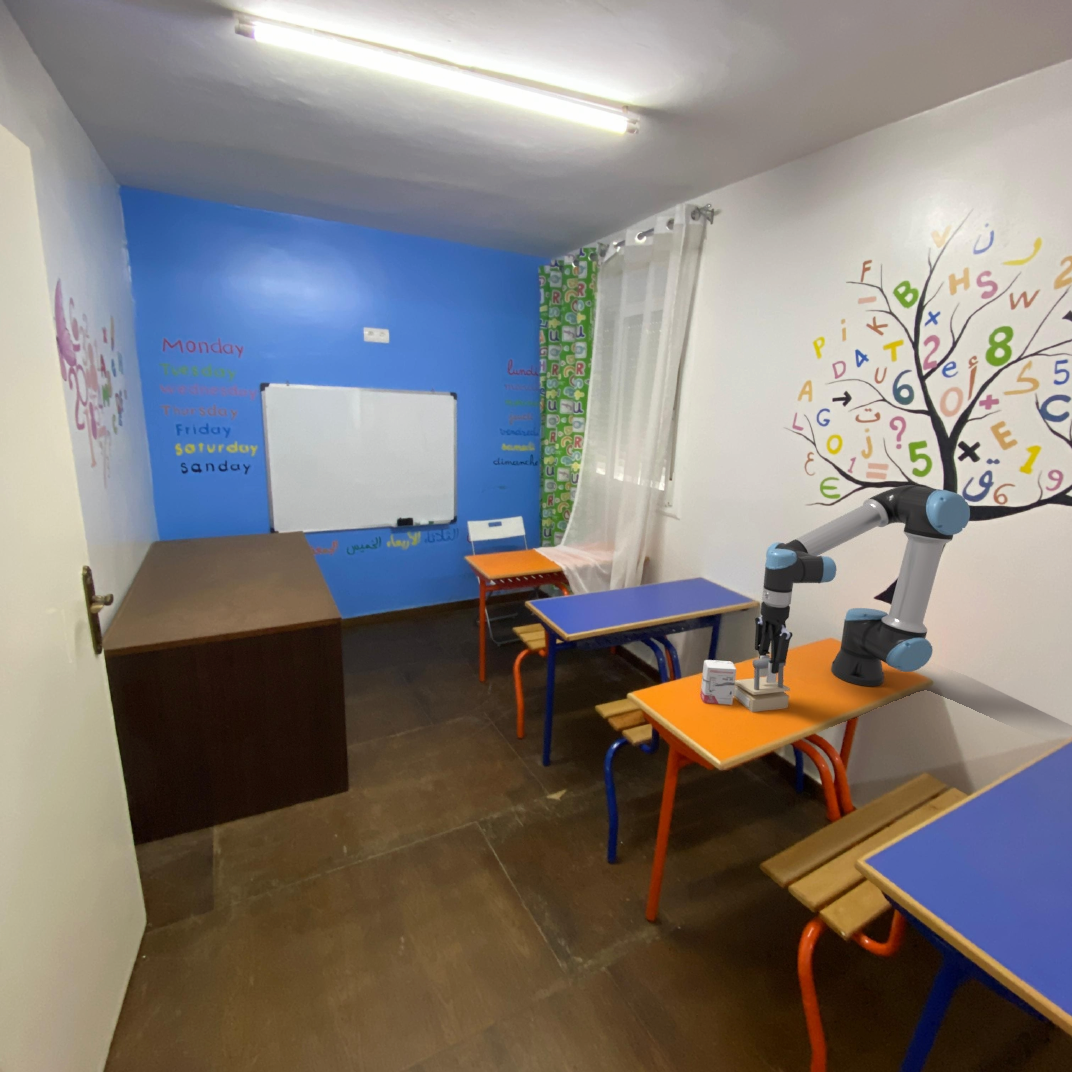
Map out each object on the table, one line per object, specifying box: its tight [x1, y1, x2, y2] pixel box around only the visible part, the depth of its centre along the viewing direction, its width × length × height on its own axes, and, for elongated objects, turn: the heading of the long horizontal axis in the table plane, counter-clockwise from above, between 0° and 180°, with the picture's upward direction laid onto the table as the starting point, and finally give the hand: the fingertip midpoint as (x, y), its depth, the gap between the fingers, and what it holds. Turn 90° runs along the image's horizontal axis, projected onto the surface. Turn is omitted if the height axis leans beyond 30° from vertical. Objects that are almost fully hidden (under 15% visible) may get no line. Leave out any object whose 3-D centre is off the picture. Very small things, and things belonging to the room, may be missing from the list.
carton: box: [733, 684, 790, 713], centre depth 160 cm, size 12×10×4 cm
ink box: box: [700, 659, 737, 706], centre depth 160 cm, size 9×5×12 cm, turn 85°
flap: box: [735, 657, 791, 695], centre depth 159 cm, size 12×10×10 cm
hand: (766, 678), depth 157 cm, fingers open, 3 cm apart
